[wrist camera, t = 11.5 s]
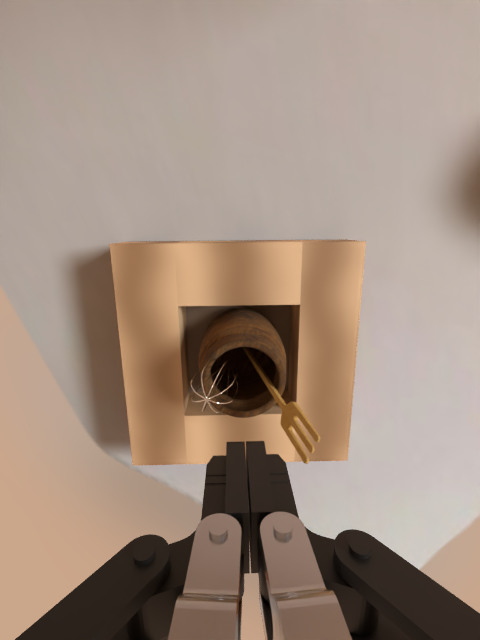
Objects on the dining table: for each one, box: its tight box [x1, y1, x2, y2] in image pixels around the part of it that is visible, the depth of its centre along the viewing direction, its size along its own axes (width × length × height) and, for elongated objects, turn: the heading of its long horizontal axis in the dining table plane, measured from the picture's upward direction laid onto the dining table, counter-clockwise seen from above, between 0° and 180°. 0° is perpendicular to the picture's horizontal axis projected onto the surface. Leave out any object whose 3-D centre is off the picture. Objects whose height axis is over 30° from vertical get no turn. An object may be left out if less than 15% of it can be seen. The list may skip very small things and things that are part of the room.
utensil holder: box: [191, 308, 320, 464], centre depth 21 cm, size 6×6×12 cm
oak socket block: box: [110, 240, 366, 465], centre depth 25 cm, size 16×16×4 cm
